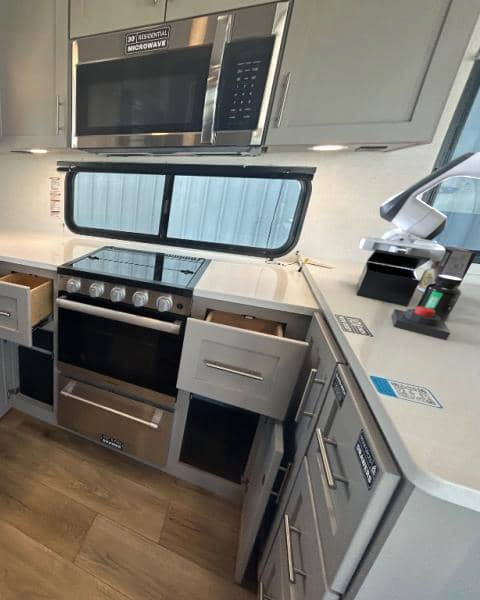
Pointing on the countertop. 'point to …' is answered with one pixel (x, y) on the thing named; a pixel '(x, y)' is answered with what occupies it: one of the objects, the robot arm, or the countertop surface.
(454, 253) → the coffee box
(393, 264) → the bin lid
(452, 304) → the supplement bottle
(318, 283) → the countertop surface
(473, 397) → the countertop surface
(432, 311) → the button
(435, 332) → the control block
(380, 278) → the bin
